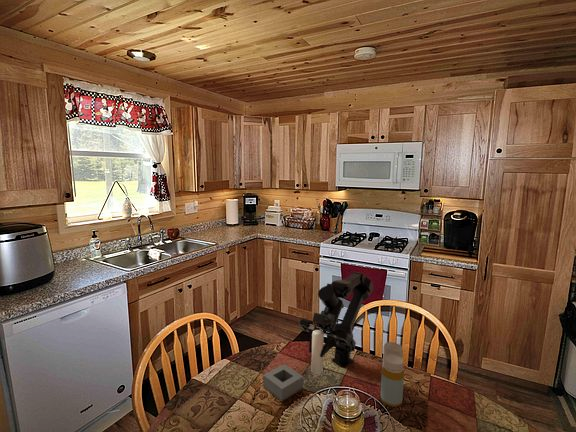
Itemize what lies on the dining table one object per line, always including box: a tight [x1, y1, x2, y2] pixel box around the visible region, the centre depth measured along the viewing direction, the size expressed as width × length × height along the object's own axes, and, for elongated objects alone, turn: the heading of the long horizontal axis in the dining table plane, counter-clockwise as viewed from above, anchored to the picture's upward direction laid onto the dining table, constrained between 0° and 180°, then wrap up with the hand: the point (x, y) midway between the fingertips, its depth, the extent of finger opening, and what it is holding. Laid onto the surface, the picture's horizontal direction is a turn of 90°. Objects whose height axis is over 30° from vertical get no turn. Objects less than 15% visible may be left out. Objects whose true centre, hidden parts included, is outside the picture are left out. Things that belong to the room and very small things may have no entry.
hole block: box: [262, 363, 304, 402], centre depth 112 cm, size 10×10×5 cm
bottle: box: [380, 354, 405, 408], centre depth 106 cm, size 7×7×15 cm
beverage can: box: [381, 341, 404, 370], centre depth 114 cm, size 6×7×15 cm
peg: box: [310, 329, 325, 375], centre depth 110 cm, size 4×4×14 cm
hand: (315, 354), depth 109 cm, fingers closed on peg, 4 cm apart
